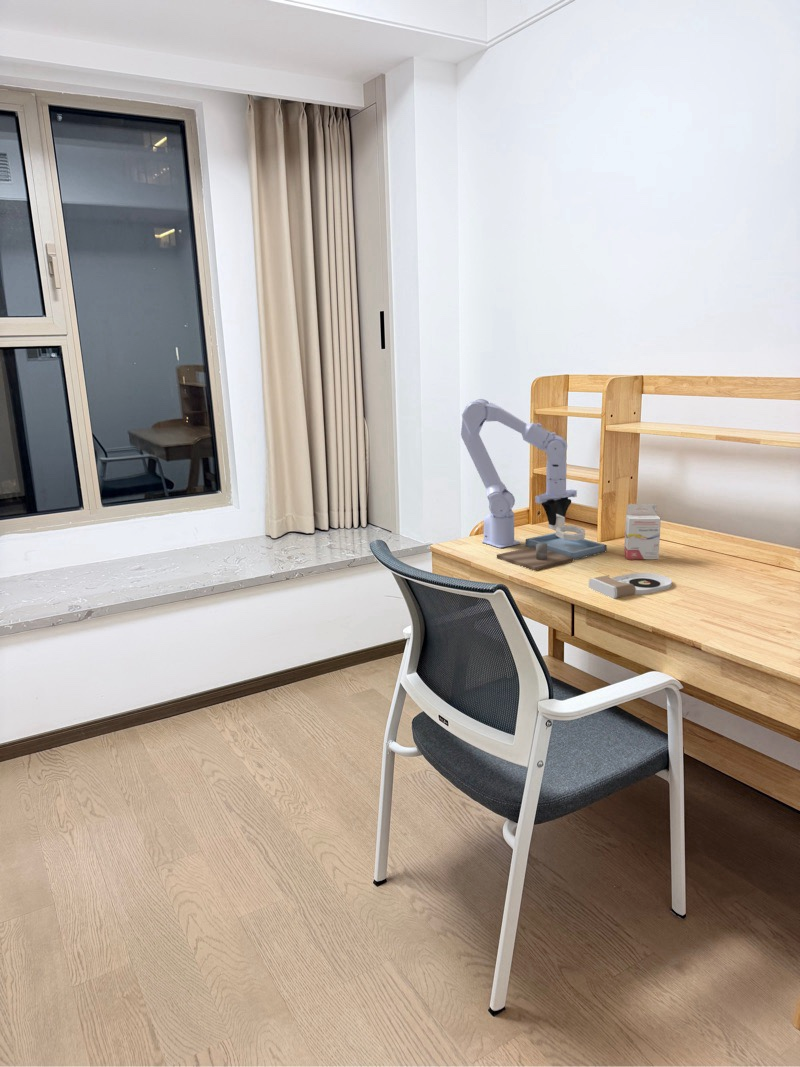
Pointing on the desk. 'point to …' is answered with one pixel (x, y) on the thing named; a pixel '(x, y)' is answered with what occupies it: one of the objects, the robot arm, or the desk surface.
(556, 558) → the stake board
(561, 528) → the ring
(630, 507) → the ink cartridge box
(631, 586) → the record player
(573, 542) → the tray
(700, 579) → the desk surface
